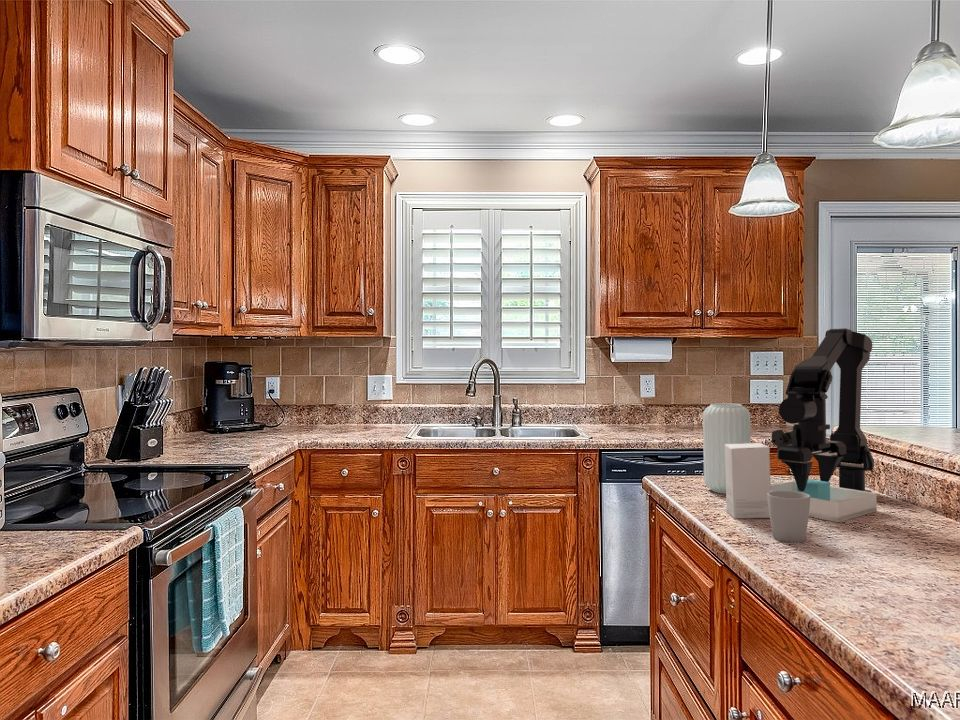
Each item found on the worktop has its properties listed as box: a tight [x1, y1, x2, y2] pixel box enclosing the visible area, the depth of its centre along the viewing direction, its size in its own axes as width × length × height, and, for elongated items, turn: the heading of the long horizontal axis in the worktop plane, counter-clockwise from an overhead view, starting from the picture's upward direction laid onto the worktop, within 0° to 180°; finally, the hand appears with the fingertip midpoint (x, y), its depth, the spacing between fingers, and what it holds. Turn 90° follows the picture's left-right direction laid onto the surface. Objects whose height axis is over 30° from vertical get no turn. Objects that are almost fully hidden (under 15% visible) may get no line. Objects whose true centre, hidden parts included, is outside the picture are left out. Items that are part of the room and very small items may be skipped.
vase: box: [702, 403, 752, 495], centre depth 176 cm, size 12×12×22 cm
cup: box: [767, 491, 810, 543], centre depth 132 cm, size 8×10×8 cm
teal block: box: [797, 478, 831, 501], centre depth 155 cm, size 5×5×5 cm
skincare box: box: [725, 442, 771, 520], centre depth 150 cm, size 8×7×16 cm
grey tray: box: [771, 479, 878, 523], centre depth 155 cm, size 16×20×4 cm
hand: (812, 488), depth 155 cm, fingers open, 9 cm apart
